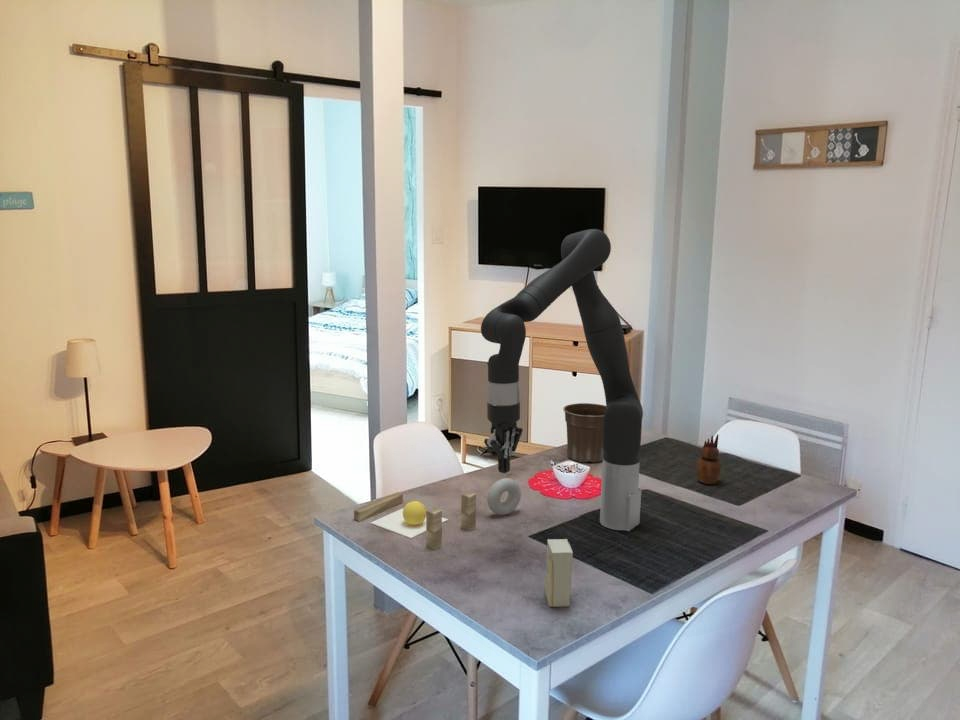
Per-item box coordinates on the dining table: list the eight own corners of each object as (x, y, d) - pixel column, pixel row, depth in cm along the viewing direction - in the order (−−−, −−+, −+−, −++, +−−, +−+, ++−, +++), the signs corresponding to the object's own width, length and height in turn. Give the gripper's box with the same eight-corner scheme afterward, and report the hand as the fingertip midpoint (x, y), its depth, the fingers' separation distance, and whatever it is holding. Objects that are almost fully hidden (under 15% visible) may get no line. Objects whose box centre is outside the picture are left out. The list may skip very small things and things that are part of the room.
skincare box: (544, 592, 158) (546, 538, 156) (565, 591, 158) (567, 538, 156) (549, 608, 152) (551, 552, 149) (571, 607, 152) (573, 551, 150)
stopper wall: (402, 502, 204) (402, 493, 204) (359, 521, 192) (359, 512, 191) (397, 500, 205) (397, 492, 205) (354, 519, 193) (353, 510, 192)
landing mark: (448, 520, 193) (448, 519, 193) (411, 538, 182) (411, 537, 182) (408, 506, 202) (408, 505, 202) (370, 523, 191) (370, 522, 191)
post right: (475, 527, 189) (476, 494, 187) (469, 531, 187) (469, 497, 185) (467, 524, 190) (467, 491, 189) (461, 528, 188) (461, 494, 187)
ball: (419, 493, 192) (409, 509, 195) (404, 500, 187) (394, 516, 190) (434, 509, 190) (424, 525, 193) (420, 517, 185) (410, 533, 188)
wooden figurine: (721, 481, 222) (725, 433, 219) (716, 487, 218) (720, 438, 214) (698, 477, 226) (702, 429, 223) (693, 483, 221) (696, 434, 218)
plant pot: (576, 446, 254) (578, 399, 250) (620, 455, 245) (623, 407, 241) (552, 458, 241) (554, 410, 237) (598, 469, 232) (600, 419, 228)
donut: (491, 520, 193) (492, 484, 191) (484, 516, 196) (484, 480, 194) (523, 512, 198) (524, 477, 196) (515, 508, 201) (516, 473, 199)
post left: (441, 545, 179) (441, 510, 177) (434, 549, 177) (434, 513, 175) (433, 542, 180) (433, 507, 178) (426, 546, 178) (426, 511, 176)
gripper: (505, 391, 179) (506, 461, 182) (473, 403, 168) (474, 477, 171) (532, 396, 174) (532, 466, 178) (501, 408, 164) (501, 483, 167)
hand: (504, 471), depth 175 cm, fingers closed
